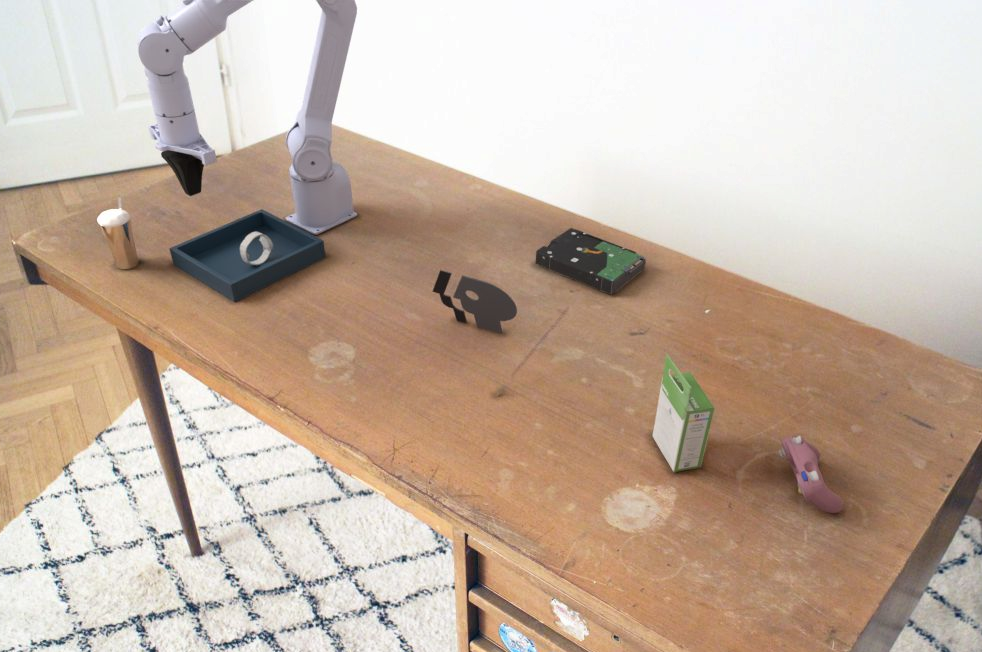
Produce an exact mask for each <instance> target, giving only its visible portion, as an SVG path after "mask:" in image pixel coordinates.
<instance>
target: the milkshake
mask: <svg viewBox="0 0 982 652" xmlns="http://www.w3.org/2000/svg"><path fill="white" fill-rule="evenodd" d="M117 203H118V204H117V205H118V208H110V209H107V210H105V211H102V212H101V213H100V214H99V215H98V217H97V218H96V221H97V223H98V225H99V228H100V230H101V232H102V234H103V236H104V239H105V241H106V243H107V245H108V247H109V250H110V253H111V255H112V258H113V260H114V262H115V264H116V267H117V268H118V269H120V270H130V269H134V268H136V267H137V266H138V265H139V258H138V253H137V247H136V243H135V238H134V232H133V227H132V226H133V225H132V220H131V216H130V213H129V212H128V211H126V210H124V209H123V207H122V197H121V196H118V197H117Z"/></svg>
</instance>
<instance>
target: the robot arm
mask: <svg viewBox="0 0 982 652" xmlns="http://www.w3.org/2000/svg"><path fill="white" fill-rule="evenodd" d="M253 1H254V0H182V4H181V5H179V6H178V7H176V8H175V9H173V10H172V11H171V12H168V13H167V14H166V15H165V16H164V17H163V16H162V15H159V16H157V17H156V18H155V23H154V22H152V23H149V24H146V25H145V26H143V27H142V29H141V30H140V32H139V34H138V38H137V39H138V42H137V46H138V47H137V48H138V49H137V51H138V57H139V59H140V62H141V64H142V65H143V66H144V73H145V76H146V77H147V80H146V84H147V88H148V93H149V96H150V100H151V105H152V109H153V112H154V116H155V120H156V123H155V124H153V125H149V126H148V131H149V135H150V138H151V139H152V140H154V141H156V140H157V141H158V142H156V143H155V144H154V145H155V149H156V150H158V151H160V155H161V158H163V160H164V161H165V162H166V163H167V164H168V166H170V168H171V170H172V172H173V173H174V175H175V176H176V178H177V181H178V183H179V184H180V186H181V188H182V190H183V193H185V195H188V196H190V197H192V196H195V195H197V194H201V193H202V187H203V186H202V185H203V182H202V181H203V172H204V167H205V166H206V167H207V166H209V165H212V164H215V163H218V159H217V154H216V150H215V149H213V148H212V147H210V145H209V144H208V141H206V139H205V138H204V136H202V134H201V133H200V128H199V125H198V118H197V114H196V109H195V105H194V101H193V100H194V99H193V97H192V92H191V88H190V87H191V86H190V82H189V79H188V76H187V75H186V73H185V69H184V68H185V67H184V59H185V56H189V55H192V54H193V53H195V52H196V51H198V50H199V49H201V48H202V47H203V46H205V45H206V44H207V43H209V42H210V41H212V40H213V39H215V38H216V37H217V36H219V35H220V34H222V33H223V32H224V31H226V30H227V24H228V23H227V22H228V18H229V16H231V15H232V14H234V13H236V12H237V11H239V10H240V9H242V8H243V7H245V6H247V5H248V4H250V3H252V2H253ZM315 1H316V3H317V4H318V6H319V7H320V9H321V13H320V17H319V18H320V19H319V22H318V27H317V32H316V37H315V41H314V46H313V52H312V56H311V61H310V66H309V70H308V75H307V80H306V85H305V89H304V94H303V99H302V103H301V108H300V109H299V110H298V112H297V114H296V116H295V121H294V123H293V125H292V126H291V127H290V128H289V130H288V131H287V133H286V135H285V144H286V145H285V146H286V147H287V148H286V149H288V151H289V154H290V157H291V162H292V163H291V165H290V166H289V169H288V172H289V180H290V186H291V192H292V198H293V205H294V211H295V212H294V213H292V214H290V215H288V216H286V217H285V221H286V222H288V223H290V224H292V225H294V226H296V227H298V228H300V229H302V230H304V231H306V232H308V233H310V234H312V235H314V236H318V235H320V234H321V233H324V232H325V231H328V230H330V229H332V228H335V227H337V226H339V225H341V224H343V223H345V222H347V221H349V220H352V219H354V218H356V217H357V216H358V213H357V212H356V211H355V210H354V201H353V192H352V182H351V178H350V175H349V173H348V171H347V170H346V168H345V167H344V166H343V165H342V164H340V163H339V162H337V161H333V156H332V153H331V152H332V151H331V146H332V143H333V142H332V141H333V126H332V125H333V118H334V114H335V110H336V107H337V101H338V96H339V92H340V87H341V84H342V79H343V75H344V71H345V67H346V62H347V59H348V53H349V49H350V45H351V41H352V35H353V31H354V27H355V23H356V20H357V19H356V18H357V14H358V5H357V3H356V0H315Z"/></svg>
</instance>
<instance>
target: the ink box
mask: <svg viewBox="0 0 982 652" xmlns="http://www.w3.org/2000/svg"><path fill="white" fill-rule="evenodd" d="M671 372H673V373H674V374H671ZM715 410H716V407H715V405H714V404H713V403H712V401H711V400H710V399H709V397H708V396H707V394H706V393H705V391H704V389H703V388H702V387H701V386H700V383H699V382H698V380H696V378H695V376H694V375H693V373H692V372H691V371H690V372H689V371H688V372H681V371H680V370H679V368H678V367H677V365H676V364H675V363H674V361H673V359H672V358H671V357H670V356H669V354H668V353H665V358H664V365H663V372H662V378H661V383H660V390H659V395H658V402H657V407H656V414H655V419H654V426H653V431H652V439H653V440H654V441H655V443H656V445H657V446H658V448H659V451H660V452H661V454H662V455H663V457H664V458H665V460H666V462H667V463H668V465H669V467H670V469H671V470H672V472H673V473H677V472H681V471H686V470H695V469H699V468H702V464H703V462H704V461H703V459H704V455H705V452H706V447H707V444H708V439H709V435H710V431H711V426H712V422H713V418H714V414H715Z"/></svg>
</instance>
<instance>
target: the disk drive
mask: <svg viewBox="0 0 982 652" xmlns="http://www.w3.org/2000/svg"><path fill="white" fill-rule="evenodd" d="M646 260H647V259H646V258H645V256H643V254H641V253H638V252H636V251H635V250H631V249H630V248H626V247H623V246H621V245H618V244H615V243H613V242H610V241H608V240H606V239H603V238H600V237H597V236H594V235H592V234H590V233H587V232H584V231H582V230H579V229H576V228H573V227H570V228H568V229H567V230H565V231H564V232H562V233H561V234H559V235H558V236H556V237H555V238H554V239H552V240H551V241H550V242H549V243H548V245H543V246H542V247H540V248H538V249H537V250H536V251H535V264H536V265H538V266H539V267H542V268H544V269H546V270H549V271H551V272H554V273H555V274H559V275H561V276H563V277H567V278H569V279H571V280H575V282H576V281H577V282H579V283H581V284H583V285H586V286H588V287H591V288H593V289H595V290H598V291H600V292H603V293H606V294H610V295H613V294H615V293H616V292H618V291H619V290H620V289H622V288H623V287H624V286H625V285H626V284H628V283H629V282H630V281H632V280H633V279H634V278H635V277H636V276H639V274H640V273H642V272H643V270H644V269H645V267H646Z"/></svg>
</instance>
